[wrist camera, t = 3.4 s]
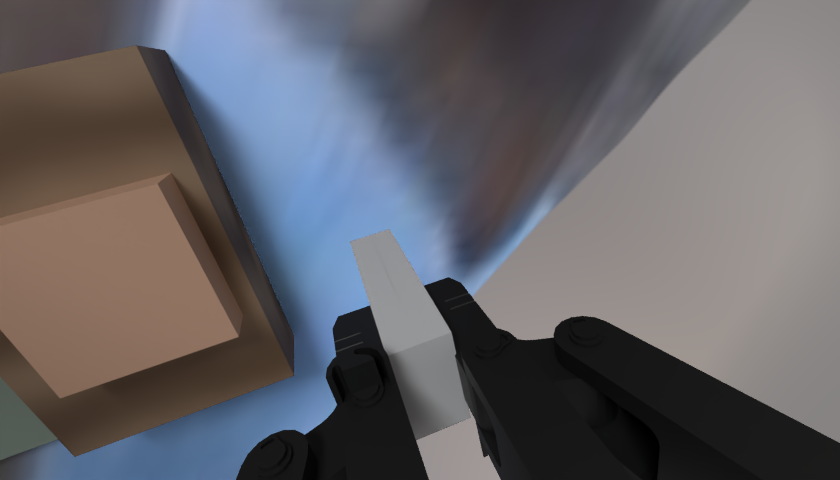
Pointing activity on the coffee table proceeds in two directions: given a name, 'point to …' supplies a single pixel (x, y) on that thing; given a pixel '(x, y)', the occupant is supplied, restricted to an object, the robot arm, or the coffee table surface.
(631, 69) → the coffee table surface
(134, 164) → the block
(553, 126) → the coffee table surface
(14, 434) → the sage mat
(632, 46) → the coffee table surface
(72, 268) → the terracotta tile
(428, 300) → the robot arm
